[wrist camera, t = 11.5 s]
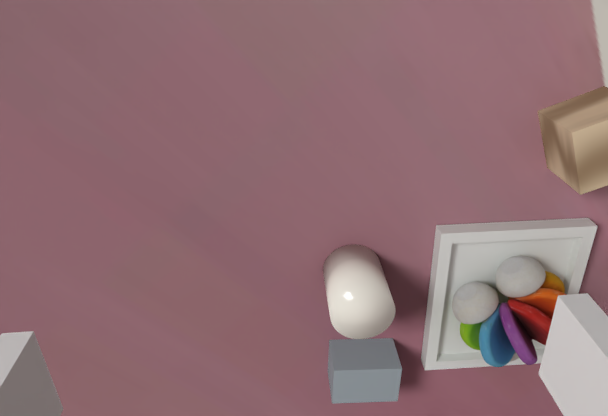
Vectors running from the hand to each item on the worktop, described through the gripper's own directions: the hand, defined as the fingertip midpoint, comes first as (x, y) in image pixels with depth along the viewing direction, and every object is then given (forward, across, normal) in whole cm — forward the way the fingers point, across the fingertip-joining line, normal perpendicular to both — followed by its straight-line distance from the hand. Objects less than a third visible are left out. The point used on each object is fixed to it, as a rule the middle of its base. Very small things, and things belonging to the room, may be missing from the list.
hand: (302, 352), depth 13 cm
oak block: (+26, +22, -5) cm, 35 cm away
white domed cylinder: (+26, +5, -16) cm, 31 cm away
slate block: (+26, +6, -26) cm, 38 cm away
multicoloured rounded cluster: (+26, +18, -20) cm, 38 cm away
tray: (+26, +18, -20) cm, 38 cm away
